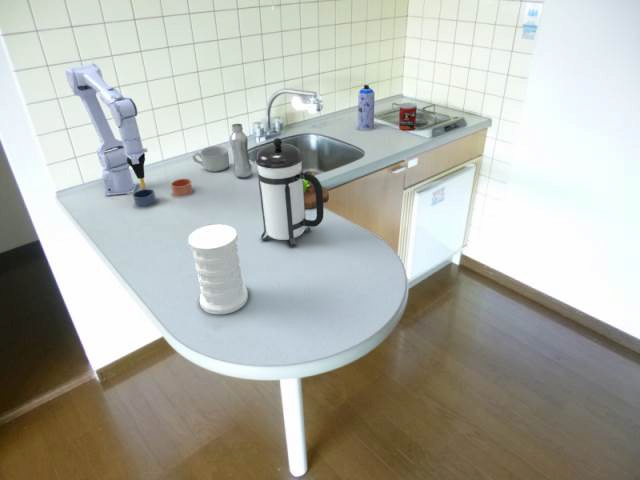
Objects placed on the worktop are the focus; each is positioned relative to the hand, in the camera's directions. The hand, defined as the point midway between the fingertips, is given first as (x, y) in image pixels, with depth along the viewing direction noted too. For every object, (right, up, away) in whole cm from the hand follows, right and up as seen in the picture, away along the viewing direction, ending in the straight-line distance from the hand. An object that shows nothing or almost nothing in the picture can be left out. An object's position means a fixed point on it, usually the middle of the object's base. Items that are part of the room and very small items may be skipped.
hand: (141, 177), depth 157 cm
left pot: (0, -9, +5) cm, 10 cm away
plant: (+53, -7, +4) cm, 53 cm away
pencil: (0, -4, +2) cm, 4 cm away
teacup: (+18, +7, +29) cm, 35 cm away
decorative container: (+37, -36, -43) cm, 67 cm away
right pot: (+11, -4, +11) cm, 16 cm away
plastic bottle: (+31, +3, +22) cm, 38 cm away
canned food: (+102, +31, +64) cm, 124 cm away
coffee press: (+51, -20, -18) cm, 58 cm away
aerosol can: (+82, +32, +66) cm, 111 cm away
